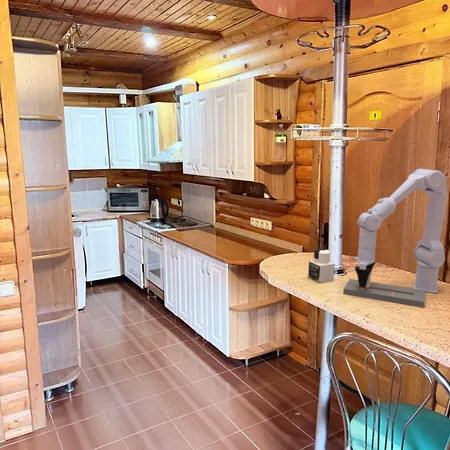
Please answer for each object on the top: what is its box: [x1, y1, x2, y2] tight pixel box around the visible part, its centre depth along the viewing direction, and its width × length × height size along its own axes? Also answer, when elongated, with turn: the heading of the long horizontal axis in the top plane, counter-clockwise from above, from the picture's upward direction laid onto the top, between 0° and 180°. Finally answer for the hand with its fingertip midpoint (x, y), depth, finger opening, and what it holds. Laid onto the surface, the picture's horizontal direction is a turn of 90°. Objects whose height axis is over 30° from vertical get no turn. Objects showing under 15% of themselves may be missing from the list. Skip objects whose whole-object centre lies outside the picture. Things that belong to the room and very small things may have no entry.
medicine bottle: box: [307, 248, 335, 284], centre depth 161 cm, size 7×7×12 cm
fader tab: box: [357, 271, 372, 288], centre depth 148 cm, size 3×4×5 cm
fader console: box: [342, 278, 426, 309], centre depth 146 cm, size 12×26×2 cm, turn 63°
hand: (364, 283), depth 149 cm, fingers open, 7 cm apart
